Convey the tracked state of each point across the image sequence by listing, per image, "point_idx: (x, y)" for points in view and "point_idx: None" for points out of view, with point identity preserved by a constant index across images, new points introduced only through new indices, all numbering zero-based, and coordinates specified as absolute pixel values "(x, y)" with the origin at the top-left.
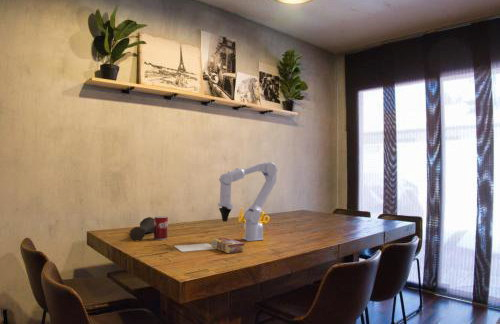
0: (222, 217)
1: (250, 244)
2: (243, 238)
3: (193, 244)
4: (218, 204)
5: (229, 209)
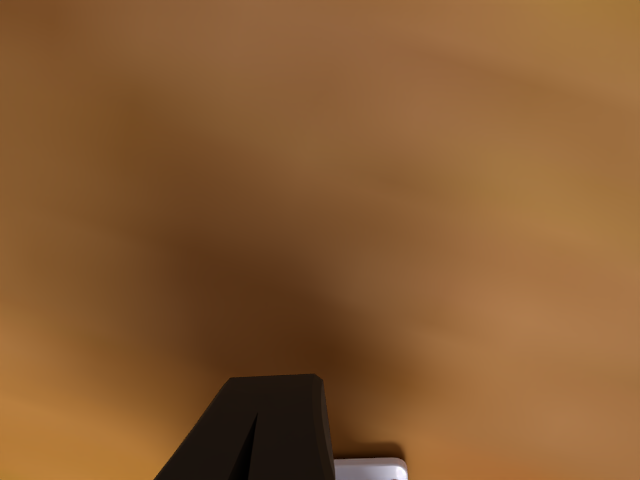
0: (254, 473)
1: (5, 420)
2: (347, 464)
3: None
4: None
5: None
